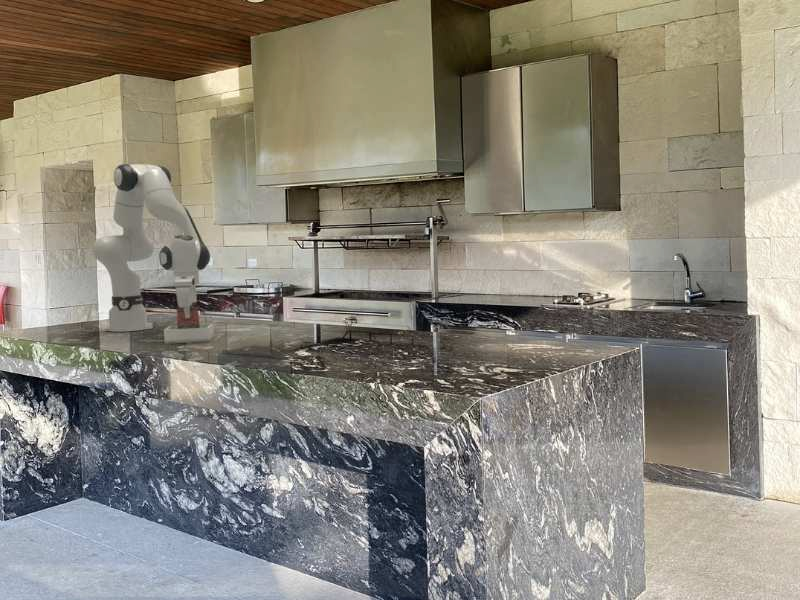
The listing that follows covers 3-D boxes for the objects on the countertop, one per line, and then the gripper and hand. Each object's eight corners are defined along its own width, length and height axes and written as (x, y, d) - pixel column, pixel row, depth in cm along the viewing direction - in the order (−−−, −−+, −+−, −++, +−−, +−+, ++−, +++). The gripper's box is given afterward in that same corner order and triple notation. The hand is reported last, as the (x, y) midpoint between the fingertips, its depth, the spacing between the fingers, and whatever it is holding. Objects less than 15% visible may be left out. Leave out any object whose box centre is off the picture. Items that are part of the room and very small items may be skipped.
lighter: (200, 328, 311) (199, 301, 314) (198, 326, 308) (196, 299, 310) (179, 330, 311) (177, 304, 314) (176, 329, 308) (174, 302, 310)
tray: (170, 339, 318) (169, 325, 317) (214, 337, 319) (213, 323, 319) (164, 343, 306) (163, 329, 305) (209, 341, 307) (209, 327, 307)
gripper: (182, 278, 321) (184, 314, 322) (172, 282, 300) (175, 321, 302) (199, 277, 321) (201, 314, 322) (191, 281, 301) (193, 320, 302)
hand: (188, 317), depth 312 cm, fingers closed on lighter, 2 cm apart
